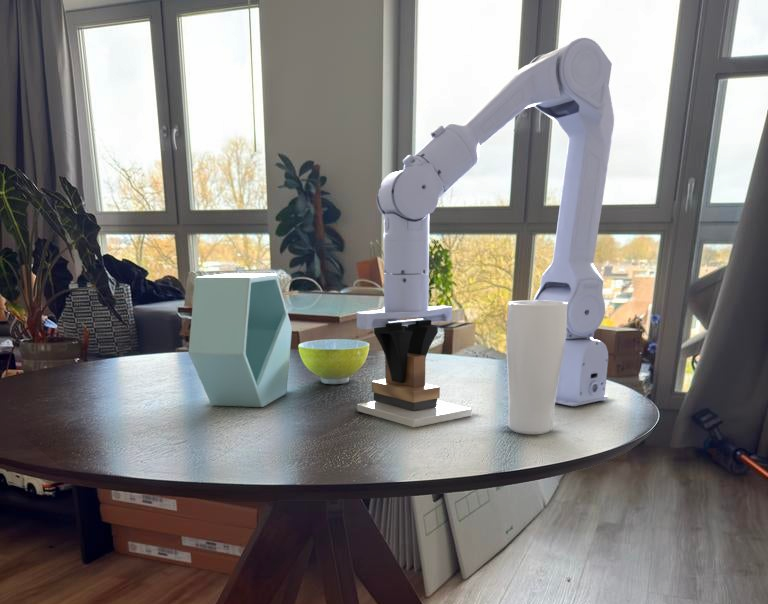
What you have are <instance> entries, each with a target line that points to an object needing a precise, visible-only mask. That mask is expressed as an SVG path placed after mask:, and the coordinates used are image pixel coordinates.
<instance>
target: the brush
mask: <svg viewBox="0 0 768 604" xmlns="http://www.w3.org/2000/svg"><path fill="white" fill-rule="evenodd" d="M384 375H385V376H384V378H383V379H378V380H372V381H371V383H370V384H371V393H373V401H377V402H381V403H385V404H389V405H392V406H396V407H400V408H404V409H407V410H411V411H418V410H423V409H428V408H434V407H437V400H438V399H440V398H441V397H440V396H441V393H440V392H441V387H440V386H438V385H433V384H430V383H426V358H425V355H419V354H413V353H408V354H407V373H406V379H405V383H398V382H394V381H392V379H391V374H390V370H389V366H388V363H387V360H386V356H385V355H384Z"/></svg>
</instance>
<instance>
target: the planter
mask: <svg viewBox="0 0 768 604" xmlns="http://www.w3.org/2000/svg"><path fill="white" fill-rule="evenodd" d="M193 286H194V287H193V297H192V309H191V321H190V330H189V331H190V332H189V342H188V355H189V358H190V360H191V362H192V365H193V366H194V369H195V371H196V373H197V376H198V378H199V381H200V382H201V385H202V387H203V390H204V392H205V394H206V396H207V398H208V400H209V403H210V405H211V406H219V407H241V408H264V407H265V406H267V405H269V404H271V403H273V402H274V401H276V400H278V399H279V398H281V397H283V396H285V395H286V394H287V391H288V390H287V389H288V382H289V369H290V356H291V346H292V345H291V343H292V334H293V333H292V332H293V331H292V330H293V327H292V323H291V320H290V317H289V313H288V309H287V305H286V303H285V298H284V296H283V295H284V294H283V291H282V288H281V283H280V281H279V277H278V274H277V273H222V274H221V273H220V274H213V275H212V274H211V275H202V276H195V278H194V285H193Z"/></svg>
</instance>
